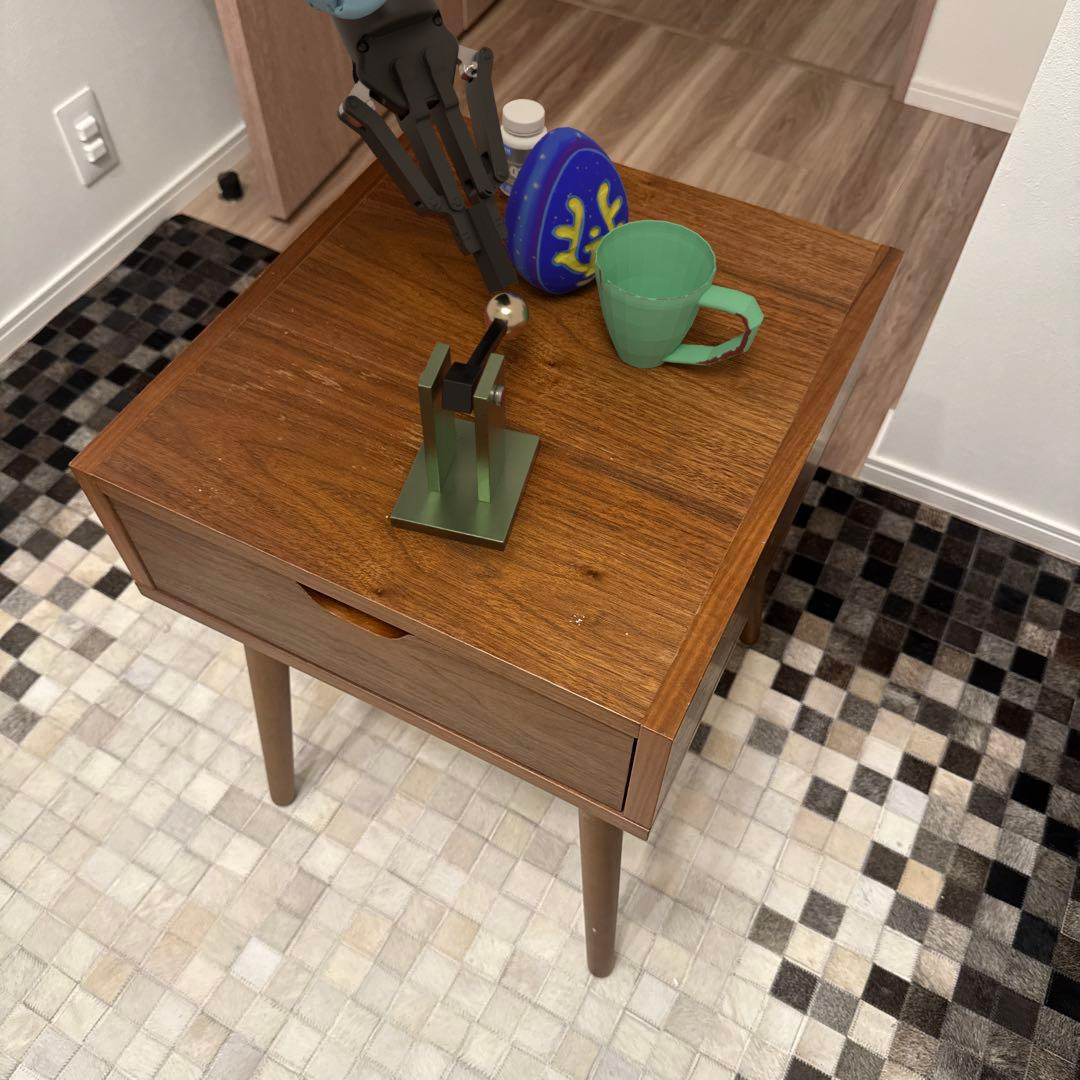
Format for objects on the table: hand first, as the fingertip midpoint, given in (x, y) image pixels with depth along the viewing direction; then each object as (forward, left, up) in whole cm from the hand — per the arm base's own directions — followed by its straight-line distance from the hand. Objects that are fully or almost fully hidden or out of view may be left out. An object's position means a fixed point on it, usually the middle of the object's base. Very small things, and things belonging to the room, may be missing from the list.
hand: (504, 288), depth 84 cm
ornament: (-6, +13, -10) cm, 18 cm away
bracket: (+6, -10, -10) cm, 16 cm away
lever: (+3, -5, -3) cm, 7 cm away
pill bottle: (-18, +20, -10) cm, 29 cm away
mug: (+8, +12, -10) cm, 18 cm away
